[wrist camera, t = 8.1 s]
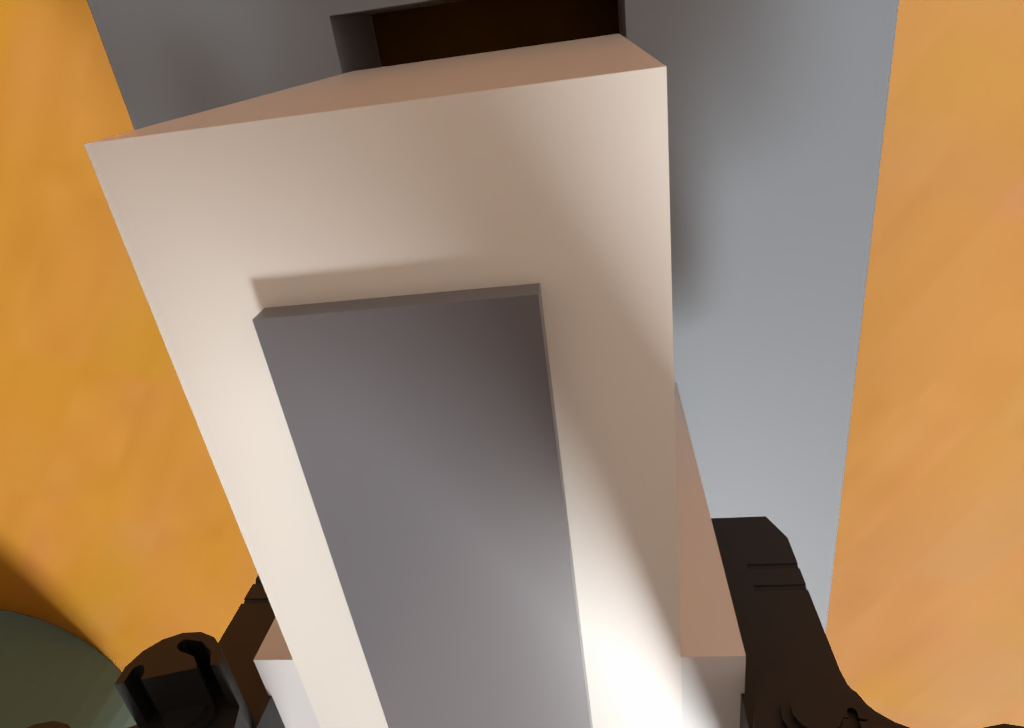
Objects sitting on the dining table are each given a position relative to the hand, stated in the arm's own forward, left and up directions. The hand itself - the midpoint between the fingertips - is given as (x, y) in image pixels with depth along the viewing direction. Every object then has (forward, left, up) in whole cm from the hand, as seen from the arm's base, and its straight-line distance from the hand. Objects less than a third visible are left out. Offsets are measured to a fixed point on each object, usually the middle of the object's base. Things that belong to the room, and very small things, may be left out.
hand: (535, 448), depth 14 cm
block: (0, 0, -2) cm, 2 cm away
